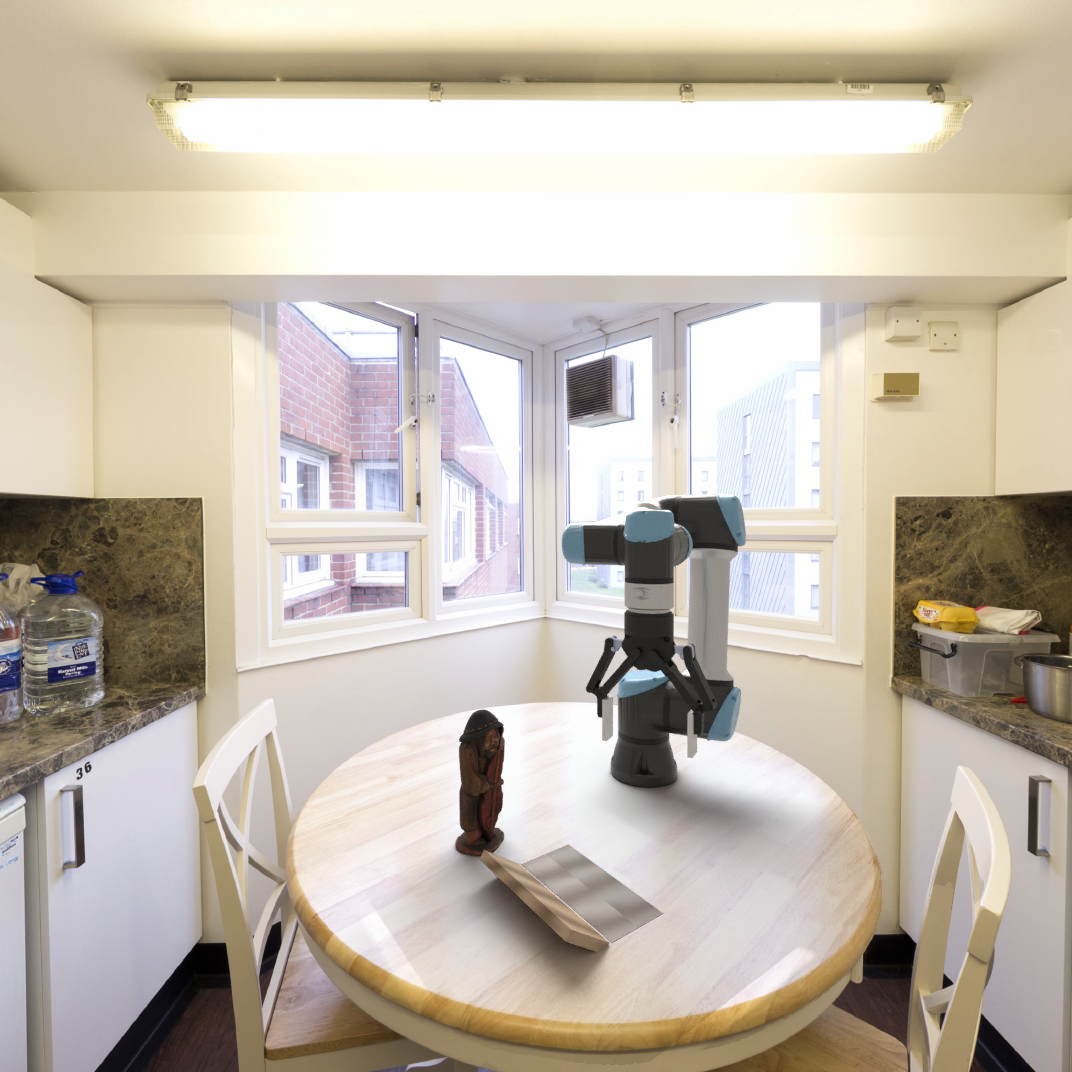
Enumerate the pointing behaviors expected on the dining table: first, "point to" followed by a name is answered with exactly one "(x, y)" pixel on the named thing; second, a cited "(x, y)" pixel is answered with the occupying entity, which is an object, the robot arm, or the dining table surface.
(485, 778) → the figurine
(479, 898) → the dining table surface
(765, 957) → the dining table surface
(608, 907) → the laid strip
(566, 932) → the plank
